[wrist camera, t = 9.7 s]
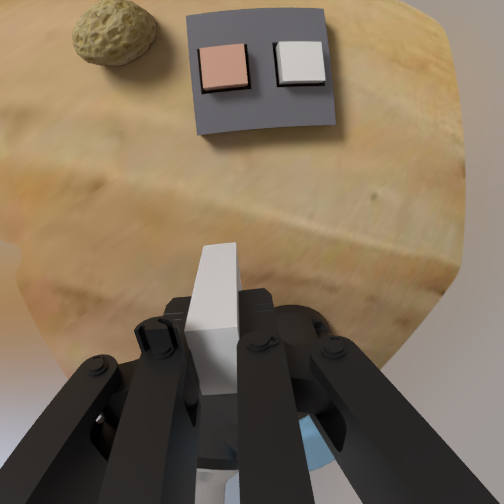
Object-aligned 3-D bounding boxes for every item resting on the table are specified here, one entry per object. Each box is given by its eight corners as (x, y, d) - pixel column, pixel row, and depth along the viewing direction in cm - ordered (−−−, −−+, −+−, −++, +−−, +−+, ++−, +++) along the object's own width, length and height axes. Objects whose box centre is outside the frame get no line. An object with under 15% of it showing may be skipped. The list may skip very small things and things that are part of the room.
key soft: (318, 83, 35) (325, 80, 32) (278, 84, 35) (283, 81, 32) (314, 48, 33) (321, 41, 30) (275, 48, 33) (278, 41, 30)
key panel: (329, 124, 39) (335, 124, 36) (200, 134, 39) (197, 135, 36) (317, 15, 33) (323, 8, 30) (189, 22, 33) (186, 16, 30)
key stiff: (246, 86, 35) (247, 83, 32) (206, 91, 35) (203, 88, 32) (243, 50, 33) (243, 43, 30) (202, 54, 33) (199, 48, 30)
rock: (136, 77, 38) (155, 66, 31) (63, 66, 31) (63, 51, 24) (154, 20, 35) (178, -1, 28) (84, 6, 29) (91, -21, 21)
